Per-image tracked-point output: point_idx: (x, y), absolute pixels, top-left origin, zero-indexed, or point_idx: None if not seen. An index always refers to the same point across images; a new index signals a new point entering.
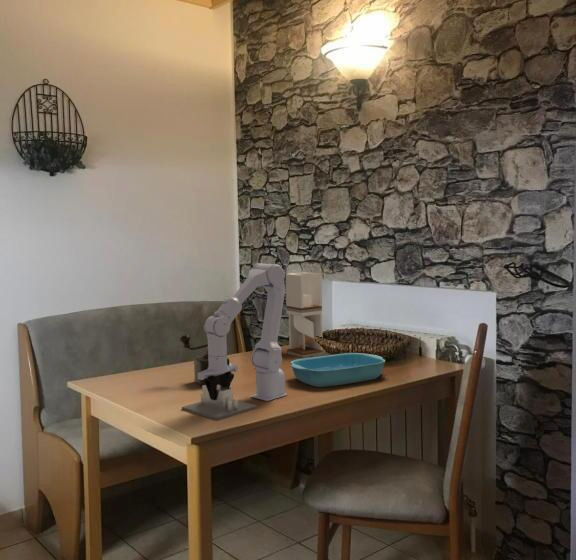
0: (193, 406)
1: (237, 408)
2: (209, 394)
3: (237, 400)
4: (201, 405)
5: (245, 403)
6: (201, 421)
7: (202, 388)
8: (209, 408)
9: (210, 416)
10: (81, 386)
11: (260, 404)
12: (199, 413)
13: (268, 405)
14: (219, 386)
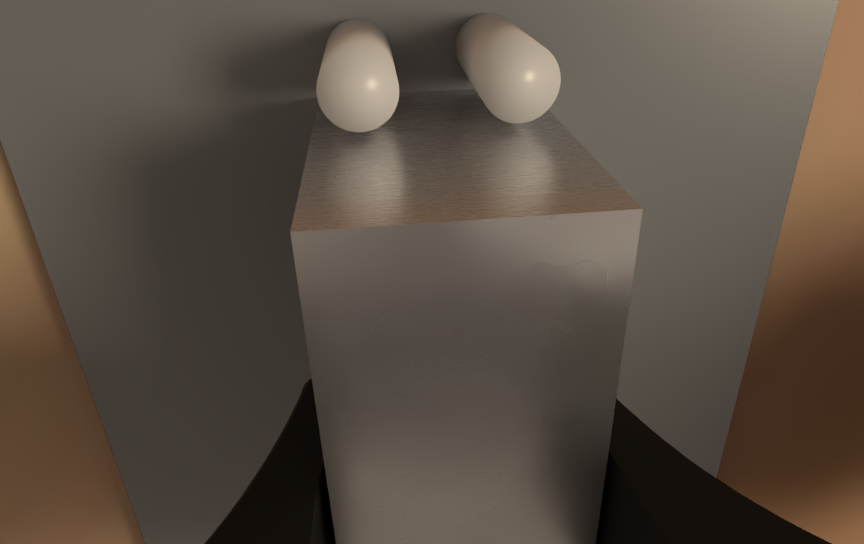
0: (133, 82)
1: None
2: (287, 432)
3: (761, 295)
4: (269, 133)
5: (704, 436)
6: (17, 519)
7: (296, 213)
8: (279, 326)
9: (141, 521)
10: None
11: (812, 462)
12: (89, 359)
13: (815, 522)
14: (525, 522)
